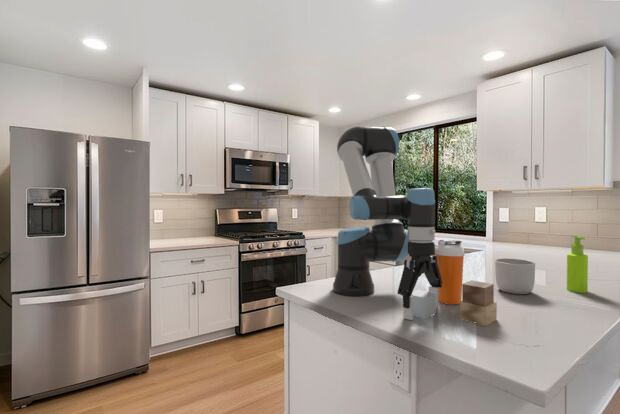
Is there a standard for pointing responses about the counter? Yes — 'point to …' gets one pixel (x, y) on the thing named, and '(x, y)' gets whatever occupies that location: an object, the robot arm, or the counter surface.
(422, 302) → the grey-blue cube
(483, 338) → the counter surface
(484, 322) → the oak block
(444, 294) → the shaker bottle
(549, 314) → the counter surface
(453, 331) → the counter surface
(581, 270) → the soap dispenser
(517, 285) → the planter
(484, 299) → the walnut block
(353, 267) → the robot arm
